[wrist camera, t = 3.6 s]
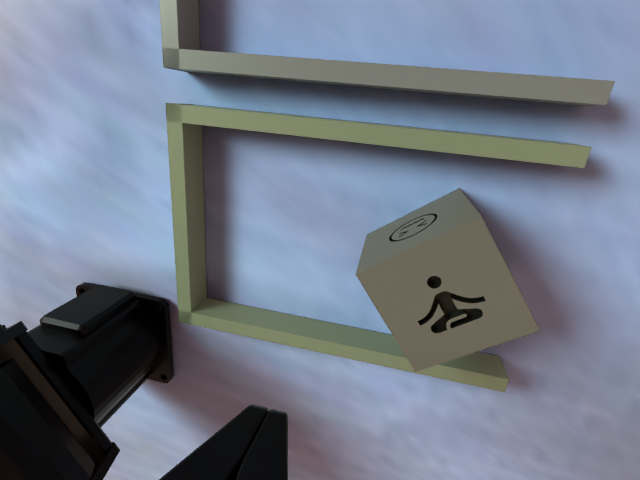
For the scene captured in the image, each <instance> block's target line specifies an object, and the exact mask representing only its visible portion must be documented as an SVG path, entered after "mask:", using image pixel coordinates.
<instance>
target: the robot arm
mask: <svg viewBox="0 0 640 480" xmlns="http://www.w3.org/2000/svg"><path fill="white" fill-rule="evenodd" d="M76 294H77V297H76V298H74V299H72V300H71V301H69V302H67V303H65V304H63V305H62V306H60V307H58V308H56V309H55V310H53V311H51V312H49V313H48V314H46V315H44V316H43V317H42V318H41V319H40V324H41V325H39V326H37V327H35V328H34V329H32V330H30V331H29V332H27V331H26V330H28V329H27V328H26V326H25V325H24V324H23V322H22V321H20V322H18V323H16V324H14V325H12V326H10V327H8V328H6V327H5V325H3V326H2V325H0V480H103V478H104V477H105V475H106V473H107V472H108V470H109V468H110V467H111V465H112V463H113V461H114V460H115V458H116V456H117V455H118V453H119V451H120V449H119V448H118V447H117V445H116V444H115V443H114V442H111V441H110V440H109V438H108V437H107V436H106V434H105V433H104V432H103V430H102V429H101V427H102V426H103V425H104V424H105V423H106V421H107V420H108V419H109V418H110V417H111V416H112V415H113V414H114V413H115V412H116V411H117V410H118V409H119V408H120V407H121V406H122V405H123V404H124V403H125V402H126V401H127V399H128V398H129V397H130V396H131V395H132V394H133V393H134V392H135V391H136V390H137V389H138V388H139V387H140V386H141V385H142V384H143V383H144V382H145V381H146V380H147V379H151V380H155V381H159V382H163V383H168V382H169V381H170V380H171V379H172V378H173V376H174V372H173V358H172V344H171V330H170V316H169V305H168V303H167V301H166V300H165V299H163V298H159V297H154V296H149V295H145V294H140V293H135V292H132V291H128V290H123V289H118V288H114V287H109V286H104V285H96V284H91V283H82V284H80V285H79V286H77V287H76ZM159 305H160V306H161V308H160V307H159ZM159 480H288V415H287V413H285V412H282V411H278V410H274V409H271V410H269V409H268V408H266V407H262V406H258V405H250V406H248V407H247V408H246V409H245V410H243V411H242V412H241V413H240V414H238V415H237V416H236V417H235V418H234V419H232V420H231V421H230V422H229V423H228V424H226V425H225V426H224V427H223V428H221V429H220V430H219V431H218V432H217V433H215V434H214V435H213V436H212V437H210V438H209V439H208V440H207V441H206V442H204V443H203V444H202V445H201V446H200V447H198V448H197V449H196V450H195V451H193V452H192V453H191V454H190V455H189V456H187V457H186V458H185V459H184V460H182V461H181V462H180V463H179V464H178V465H176V466H175V467H174V468H173V469H171V470H170V471H169V472H168V473H167V474H165V475H164V476H163V477H162V478H161V479H159Z"/></svg>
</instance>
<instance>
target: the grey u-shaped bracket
mask: <svg viewBox="0 0 640 480" xmlns="http://www.w3.org/2000/svg"><path fill="white" fill-rule="evenodd" d="M166 116H167V133H168V149H169V166H170V182H171V199H172V215H173V231H174V248H175V264H176V281H177V297H178V314H179V322H182V323H187V324H191V325H196V326H200V327H205V328H210V329H214V330H219V331H224V332H228V333H233V334H237V335H242V336H247V337H251V338H256V339H261V340H265V341H270V342H275V343H279V344H284V345H288V346H293V347H298V348H302V349H307V350H312V351H316V352H321V353H326V354H330V355H335V356H339V357H344V358H349V359H353V360H358V361H363V362H367V363H372V364H376V365H381V366H386V367H390V368H395V369H400V370H404V371H409V372H414V373H418V374H423V375H427V376H432V377H437V378H441V379H446V380H451V381H455V382H460V383H464V384H469V385H474V386H478V387H483V388H488V389H492V390H497V391H502V392H505V390H506V388H507V385H508V382H509V378H508V375H507V373H506V370H505V368H504V365H503V363H502V360H501V358H500V356H495V355H490V354H485V353H480V352H474V353H471V354H468V355H465V356H462V357H459V358H456V359H453V360H450V361H447V362H444V363H441V364H438V365H435V366H432V367H429V368H426V369H423V370H420V371H417V372H415V371H414V369H413V368H412V366H411V364H410V363H409V361H408V360H407V358H406V356H405V355H404V353H403V351H402V350H401V348H400V346H399V345H398V343H397V341H396V340H395V338H394V336H393V335H390V334H385V333H380V332H375V331H370V330H365V329H360V328H355V327H350V326H345V325H340V324H335V323H330V322H325V321H320V320H315V319H310V318H306V317H301V316H296V315H291V314H286V313H281V312H276V311H271V310H266V309H261V308H256V307H251V306H246V305H241V304H236V303H231V302H226V301H221V300H216V299H211V298H207V288H206V251H205V215H204V178H203V141H202V125H205V126H214V127H223V128H232V129H241V130H250V131H259V132H268V133H277V134H285V135H294V136H303V137H312V138H321V139H330V140H339V141H348V142H356V143H365V144H374V145H383V146H392V147H401V148H410V149H419V150H427V151H436V152H445V153H454V154H463V155H472V156H481V157H490V158H498V159H507V160H516V161H525V162H534V163H543V164H552V165H561V166H570V167H578V168H584V167H585V164H586V161H587V159H588V156H589V153H590V150H591V147H588V146H583V145H577V144H572V143H563V142H553V141H543V140H534V139H524V138H514V137H504V136H495V135H485V134H475V133H465V132H456V131H446V130H436V129H426V128H417V127H407V126H397V125H387V124H378V123H368V122H358V121H348V120H339V119H329V118H319V117H309V116H300V115H290V114H280V113H270V112H261V111H251V110H241V109H231V108H222V107H212V106H202V105H192V104H176V103H166Z"/></svg>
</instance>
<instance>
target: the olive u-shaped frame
mask: <svg viewBox="0 0 640 480" xmlns="http://www.w3.org/2000/svg"><path fill="white" fill-rule="evenodd" d="M159 1H160V18H161V34H162V51H163V67H164V68H169V69H174V70H179V71H184V72H194V73H206V74H218V75H229V76H241V77H252V78H264V79H276V80H287V81H299V82H311V83H322V84H334V85H345V86H357V87H369V88H380V89H392V90H404V91H415V92H427V93H438V94H450V95H462V96H473V97H485V98H496V99H508V100H520V101H531V102H543V103H555V104H566V105H578V106H596V105H607V102H608V99H609V96H610V94H611V91H612V88H613V85H614V82H615V81H604V80H591V79H578V78H564V77H551V76H537V75H524V74H510V73H497V72H484V71H470V70H457V69H443V68H430V67H416V66H403V65H390V64H376V63H363V62H349V61H336V60H322V59H309V58H296V57H282V56H269V55H255V54H242V53H228V52H215V51H202V50H200V31H199V0H159Z"/></svg>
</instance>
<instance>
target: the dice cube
mask: <svg viewBox="0 0 640 480" xmlns="http://www.w3.org/2000/svg"><path fill="white" fill-rule="evenodd" d="M356 276H357V277H358V279H359V281H360V282H361V284H362V286H363V287H364V289H365V290H366V292H367V294H368V295H369V297H370V299H371V300H372V302H373V304H374V305H375V307H376V309H377V310H378V312H379V313H380V315H381V317H382V318H383V320H384V322H385V323H386V325H387V327H388V328H389V330H390V332H391V333H392V335H393V336H394V338H395V340H396V341H397V343H398V345H399V346H400V348H401V350H402V351H403V353H404V355H405V356H406V358H407V360H408V361H409V363H410V364H411V366H412V368H413V369H414V371H415V372H417V371H420V370H423V369H426V368H429V367H432V366H435V365H438V364H441V363H444V362H447V361H450V360H453V359H456V358H459V357H462V356H465V355H468V354H471V353H474V352H477V351H480V350H483V349H486V348H489V347H492V346H495V345H498V344H501V343H504V342H507V341H510V340H513V339H516V338H519V337H522V336H525V335H528V334H531V333H534V332H537V331H540V330H539V328H538V326H537V324H536V322H535V320H534V318H533V316H532V314H531V312H530V310H529V308H528V306H527V304H526V302H525V300H524V298H523V297H522V295H521V293H520V291H519V289H518V287H517V285H516V283H515V281H514V279H513V277H512V275H511V273H510V271H509V269H508V267H507V265H506V263H505V261H504V259H503V257H502V255H501V253H500V252H499V250H498V248H497V246H496V244H495V242H494V240H493V238H492V236H491V234H490V232H489V230H488V228H487V226H486V224H485V222H484V220H483V218H482V216H481V215H480V214H479V212H478V211H477V210H476V208H475V207H474V206H473V205H472V203H471V202H470V201H469V200H468V198H467V197H466V196H465V194H464V193H463V192H462V191H461V189H460V188H458V189H457V190H455V191H453V192H451V193H449V194H447V195H445V196H443V197H441V198H439V199H437V200H435V201H433V202H431V203H429V204H427V205H425V206H423V207H421V208H419V209H417V210H415V211H413V212H411V213H409V214H407V215H405V216H403V217H401V218H399V219H397V220H395V221H393V222H391V223H389V224H387V225H385V226H383V227H381V228H379V229H377V230H375V231H373V232H371V233H369V234H367V236H366V240H365V243H364V247H363V250H362V254H361V258H360V261H359V265H358V268H357V272H356Z"/></svg>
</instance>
